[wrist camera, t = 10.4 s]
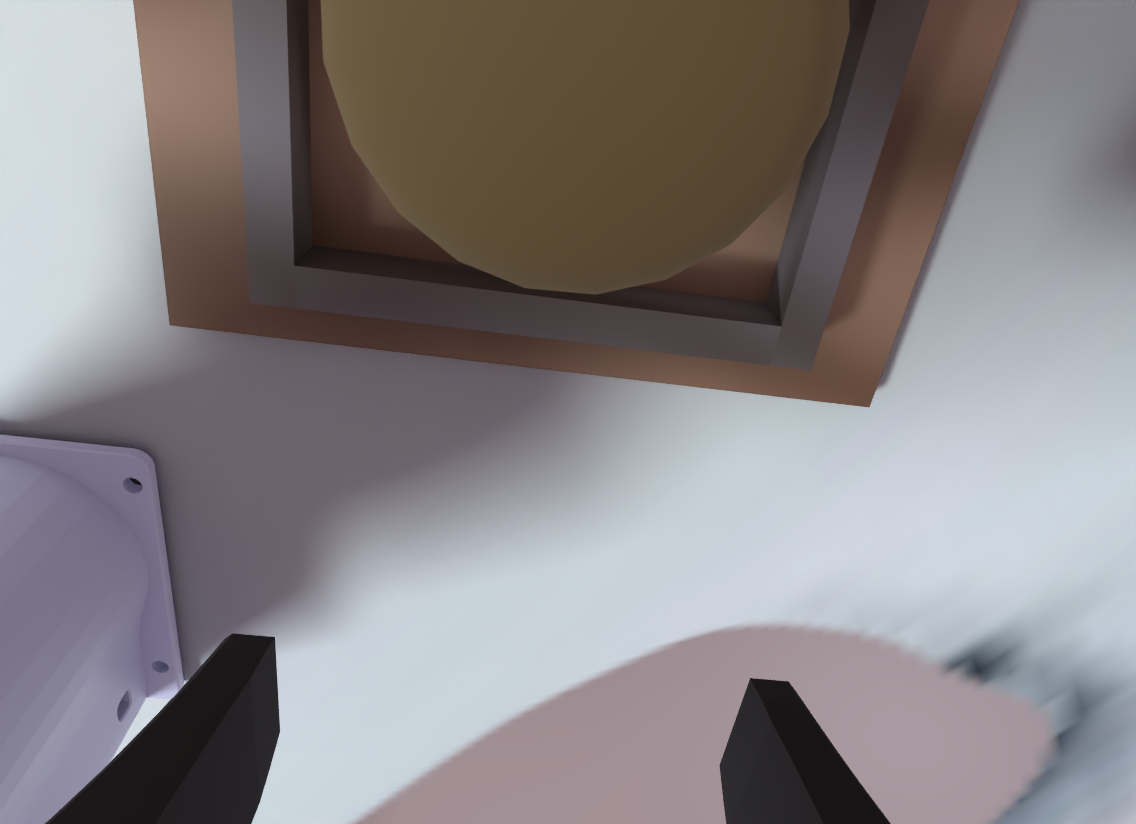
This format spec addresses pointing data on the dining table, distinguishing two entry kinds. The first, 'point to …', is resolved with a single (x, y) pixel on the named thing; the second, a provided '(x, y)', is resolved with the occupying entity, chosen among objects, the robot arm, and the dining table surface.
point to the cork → (583, 124)
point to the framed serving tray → (542, 317)
